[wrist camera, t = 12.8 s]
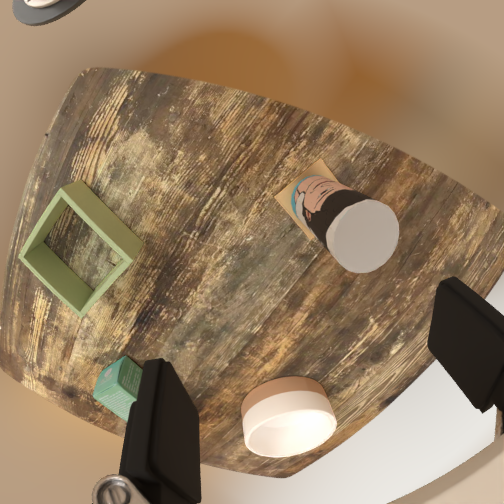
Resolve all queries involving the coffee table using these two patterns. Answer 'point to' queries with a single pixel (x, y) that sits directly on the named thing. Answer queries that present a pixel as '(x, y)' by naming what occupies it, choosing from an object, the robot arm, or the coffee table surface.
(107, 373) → the box
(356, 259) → the grey printed cylinder
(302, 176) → the coaster
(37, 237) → the crate
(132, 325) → the coffee table surface
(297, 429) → the bowl
